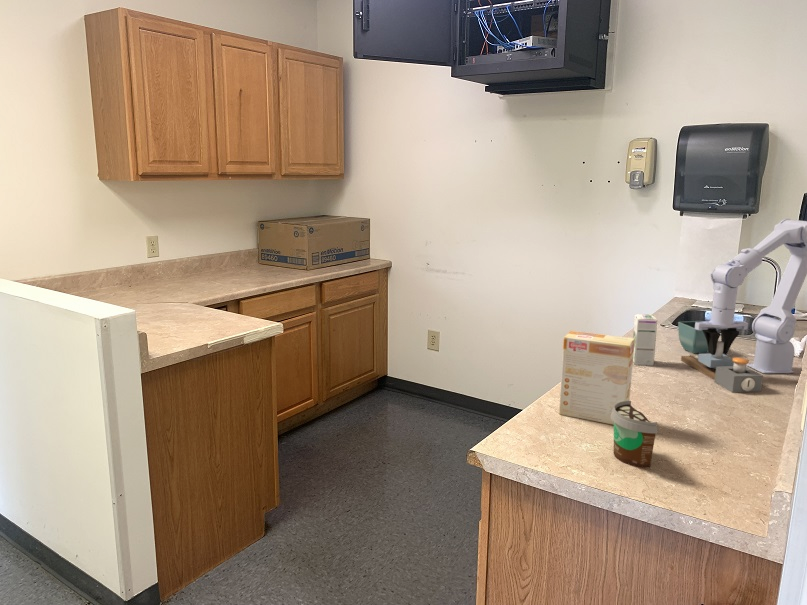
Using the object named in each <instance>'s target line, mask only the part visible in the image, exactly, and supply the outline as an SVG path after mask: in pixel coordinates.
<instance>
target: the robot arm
mask: <svg viewBox="0 0 807 605" xmlns="http://www.w3.org/2000/svg"><path fill="white" fill-rule="evenodd" d="M773 227H774V228H773V231H772V232H771V233H769V234H768V235H767V236H766V237H765V238H764V239H762V240H761V241H760V242H759V243H757V245H755V246H754V247H753V248H752V247H748V248H742V249H741V250H740V253H738V254H737V255H736V256H734V257H733V258H732V259H729V260H727V262H726V263H725V264H724V263H722V264H719V265H717V266H716V267H714V269H713V270H712V273H710V279H711V282H712V288H713V298H712V305H711V312H710V313H711V314H710V320H705V321H702V322H695V329H696V330H702V331H703V333H704V335H705V338H706V340H707V345H708V354H712V355H715V353H716V348H717V342H718V341H719V339H720V338H721V340H720V341H722V342H724V349H723V354H724V355H726V356H728V353H729V352H730V351H729V350H730V348H731V346H732V345H733V342H735V340H736V339H737V337H738V336H740V331H739V330H744V331H745V330H748V325H749V323H748V322H746V321H743V320H742V321H741V320H739V321H738V320H735V312H736V304H737V296H738V289H739V287H740V286H741V285H742V284H743V283H744V281H745V278H746V277H748V274H750V273H751V272H752V271H753V270H755V269H756V268H757V267H759V266H760V265H762V262H763V258H764V257H766V256H767V255H769V254H770V253H772V252H773V251H775V250H776V249H778V248H780V247H782V246H783V245H784V247H785V248H786V249H788V250H789V253H790V254H791V255H790V257H789V258H788V259H789V260H788V262H787V264H786V267H785V269H784V271H783V274H782V276H781V278H780V281H779V283H778V286H777V288H776V291H775V293H774V295H773V298H772V300H771V302H770V305H768V306H766V307H764V308H761V310H760V311H759V313H758V315H757V316H756V317H755V318H754V320H753V321H752V324H751V329H752V332H753V334H755V335H754V337H755V338H756V344H755V351H754V358H753V362H752V363H748V364H747V365H746V367H748V368H749V367H750V369H752V370H755V371H756V372H758V373H760V374H767V375H768V374H794V373H795V372H794V370H793V363H794V357H795V346H794V343H792V341H791V340H792V338H793V337H794V335H795V330H796V329H795V327H796V324H797V319H796V317H795V316H794V314H793V312H792V310H793V308H794V305H795V303H796V301H797V298H798V296H799V293H800V291H801V288H802V287H803V284H804V282H805V280H806V277H807V220H797V219H791V218H784V219H782V220H780V222H779V223H776V224H775V225H774V226H773ZM716 329H719V330H720V332H719V331H718V332H717V331H716Z"/></svg>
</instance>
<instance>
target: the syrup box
mask: <svg viewBox="0 0 807 605" xmlns="http://www.w3.org/2000/svg"><path fill="white" fill-rule="evenodd" d="M657 327H658V319H657V318H656V317H655V315H653V314H641V313H640V314H634V323H633V335H632V338H634V339H635V343H634V355H633V364H634V365H636V366H646V365H647V366H648V367H649V366H650V367H654V366H655V355H656V354H655V353H656V343H657V342H656V341H657V329H658V328H657Z"/></svg>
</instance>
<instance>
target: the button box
mask: <svg viewBox="0 0 807 605" xmlns="http://www.w3.org/2000/svg"><path fill="white" fill-rule="evenodd" d="M763 380H764V375H763V374H762V373H760V372H758V371H756V370H755V371H754V369H752V368H749V367H748V366H746V372H745V373H739V374H737V373H735V372H733V366H717V367H716V373H715V380H714V383H715V384H717V385H719V386H721V387H722V388H724V389H726V390H727V391H729V392H731V393H755V392H756V393H759V392H762V386H763Z"/></svg>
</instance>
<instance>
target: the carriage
mask: <svg viewBox="0 0 807 605" xmlns="http://www.w3.org/2000/svg"><path fill="white" fill-rule="evenodd" d="M723 349H724V342H722V341H721V340H718V342H717V348H716V353H715V355H712V354H710V353H698V356H699V358H698V361H699V362H701V363H703V364H704V365H706V366H708V367H710V368H716V367H717V366H733V365H734V362H733V361H732V360H733V358H732V357H730V356H728V355H725V354H723Z"/></svg>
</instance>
